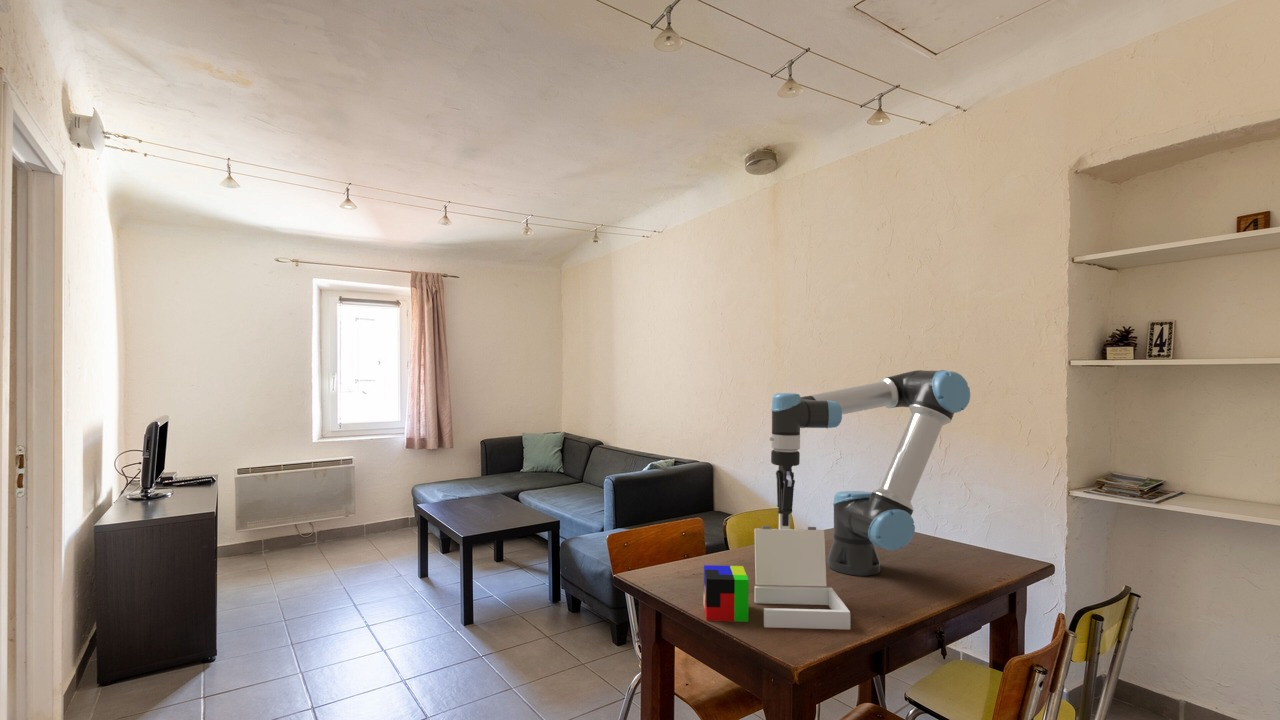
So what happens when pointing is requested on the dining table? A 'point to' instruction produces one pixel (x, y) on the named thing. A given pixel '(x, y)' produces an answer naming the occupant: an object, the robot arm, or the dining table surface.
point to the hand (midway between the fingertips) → (784, 536)
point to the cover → (790, 557)
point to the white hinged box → (803, 617)
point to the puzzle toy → (725, 593)
